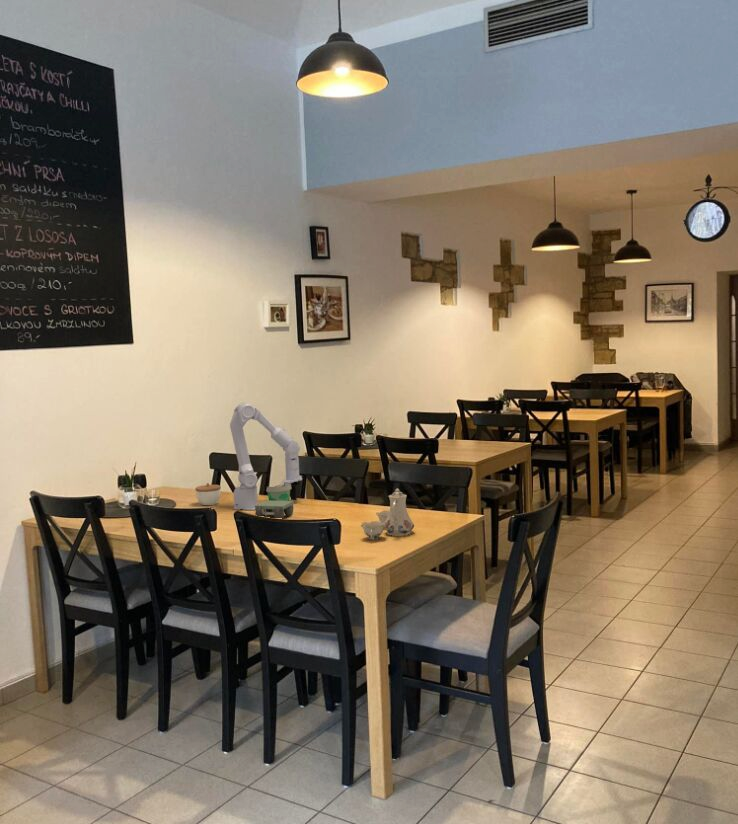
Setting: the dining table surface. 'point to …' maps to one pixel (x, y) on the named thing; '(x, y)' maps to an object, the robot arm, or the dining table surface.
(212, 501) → the lidded jar
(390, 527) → the chinaware
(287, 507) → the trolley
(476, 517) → the dining table surface
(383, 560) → the dining table surface
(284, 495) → the food container
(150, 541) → the dining table surface
